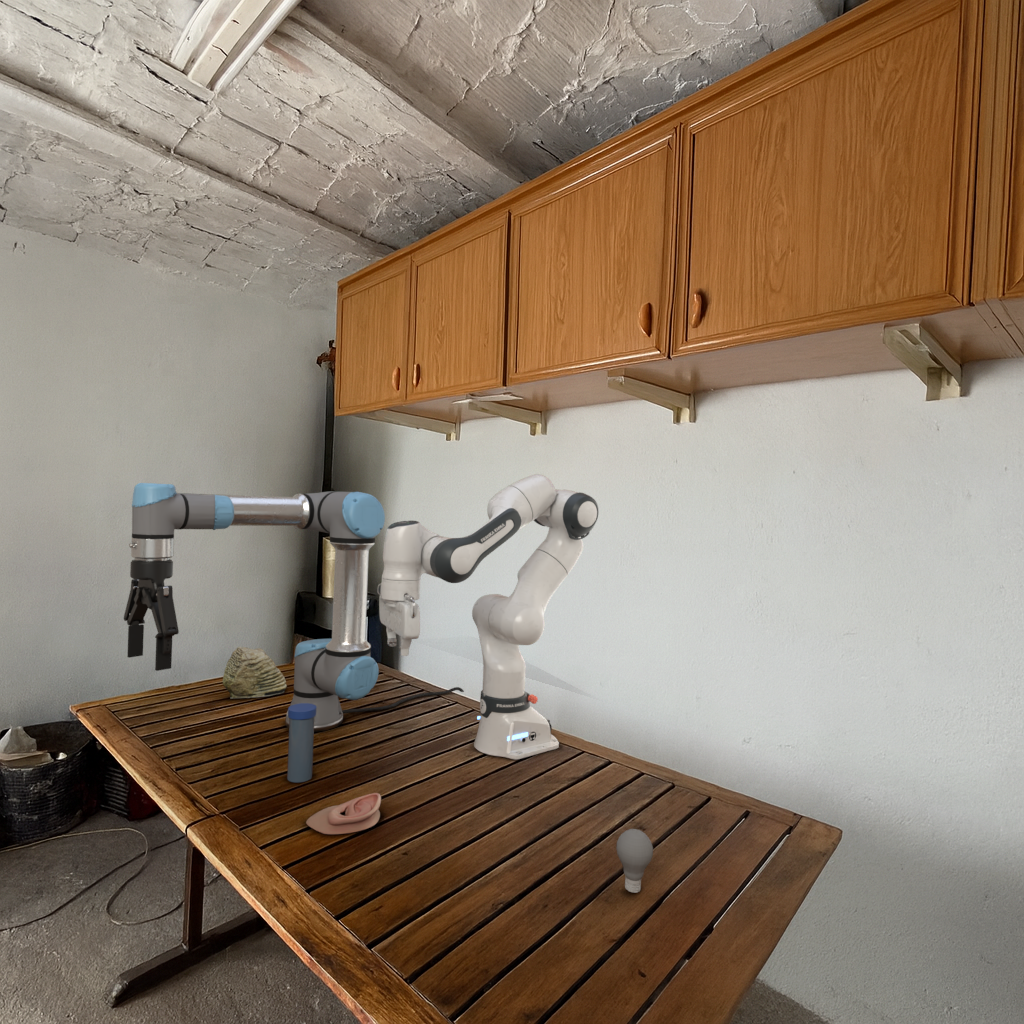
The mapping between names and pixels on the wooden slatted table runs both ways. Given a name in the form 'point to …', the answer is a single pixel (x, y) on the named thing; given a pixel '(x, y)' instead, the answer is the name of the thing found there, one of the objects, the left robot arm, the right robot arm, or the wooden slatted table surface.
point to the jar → (300, 750)
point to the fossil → (252, 674)
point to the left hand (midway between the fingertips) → (148, 662)
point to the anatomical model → (347, 816)
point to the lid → (302, 711)
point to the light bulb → (634, 857)
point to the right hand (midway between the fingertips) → (397, 650)
